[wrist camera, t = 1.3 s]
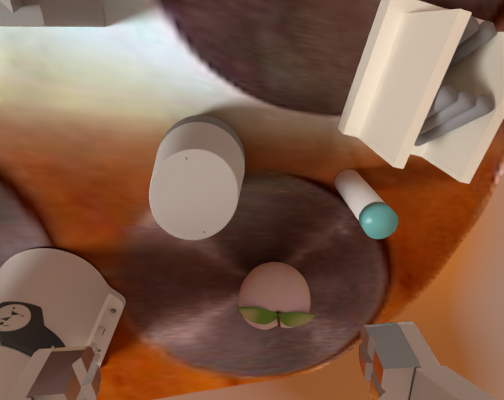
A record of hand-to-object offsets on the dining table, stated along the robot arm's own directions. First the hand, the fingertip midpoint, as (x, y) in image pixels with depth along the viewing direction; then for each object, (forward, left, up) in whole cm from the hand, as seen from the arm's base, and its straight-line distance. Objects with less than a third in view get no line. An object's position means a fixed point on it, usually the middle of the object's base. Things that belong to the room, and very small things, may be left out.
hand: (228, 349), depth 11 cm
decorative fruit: (-20, -10, -33) cm, 40 cm away
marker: (-5, -16, -33) cm, 37 cm away
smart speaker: (-5, +2, -33) cm, 34 cm away
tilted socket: (+8, -18, -33) cm, 39 cm away
